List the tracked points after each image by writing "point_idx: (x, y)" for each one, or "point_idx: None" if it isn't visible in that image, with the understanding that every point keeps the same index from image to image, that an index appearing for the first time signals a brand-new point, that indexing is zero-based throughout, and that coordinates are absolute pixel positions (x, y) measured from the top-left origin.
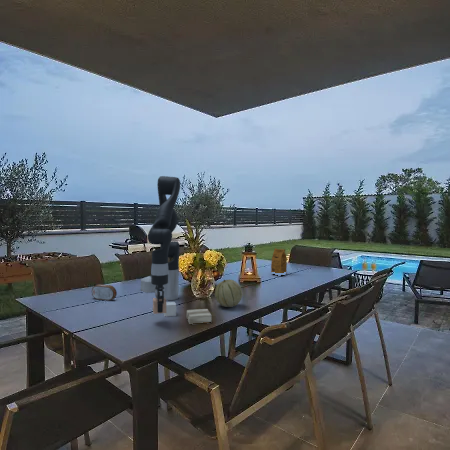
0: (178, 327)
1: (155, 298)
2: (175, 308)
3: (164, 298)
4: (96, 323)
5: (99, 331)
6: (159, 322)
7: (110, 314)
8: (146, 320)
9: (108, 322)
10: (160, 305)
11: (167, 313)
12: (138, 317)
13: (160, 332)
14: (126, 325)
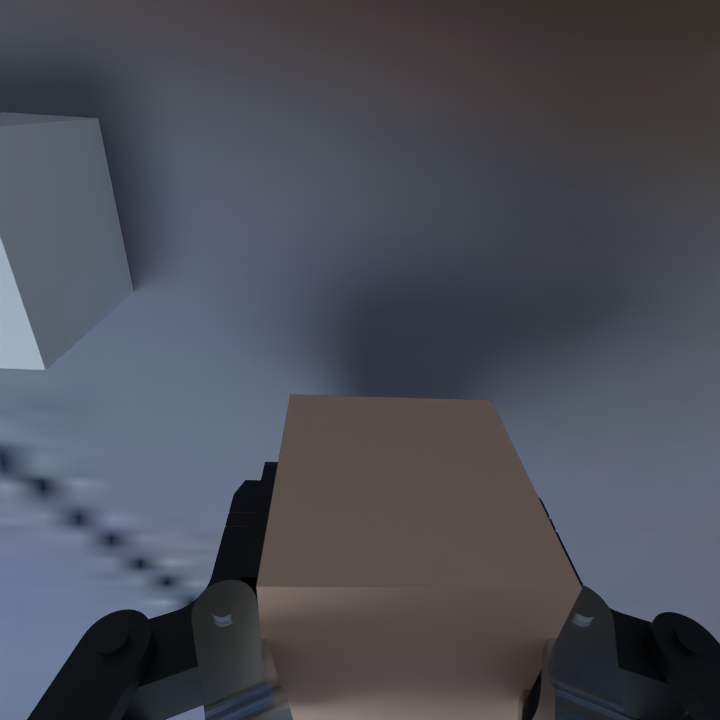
0: (622, 191)
1: (303, 712)
2: (29, 141)
3: (352, 602)
4: None
5: None
6: (352, 373)
7: (60, 660)
8: (255, 472)
9: None
10: None
11: (108, 268)
12: (150, 521)
13: (651, 399)
14: None
